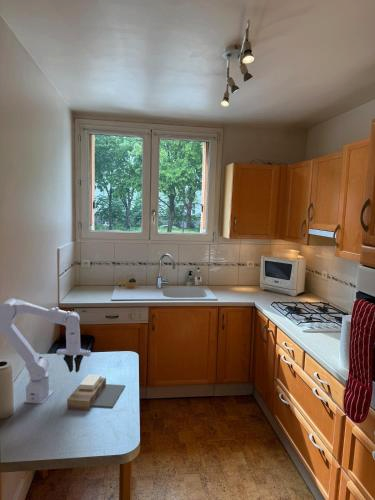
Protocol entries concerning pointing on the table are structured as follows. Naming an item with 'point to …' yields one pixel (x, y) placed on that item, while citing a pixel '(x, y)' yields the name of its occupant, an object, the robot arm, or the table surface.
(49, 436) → the table surface
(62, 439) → the table surface
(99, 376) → the cream foam block
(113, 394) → the mat
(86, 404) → the brown wooden block
